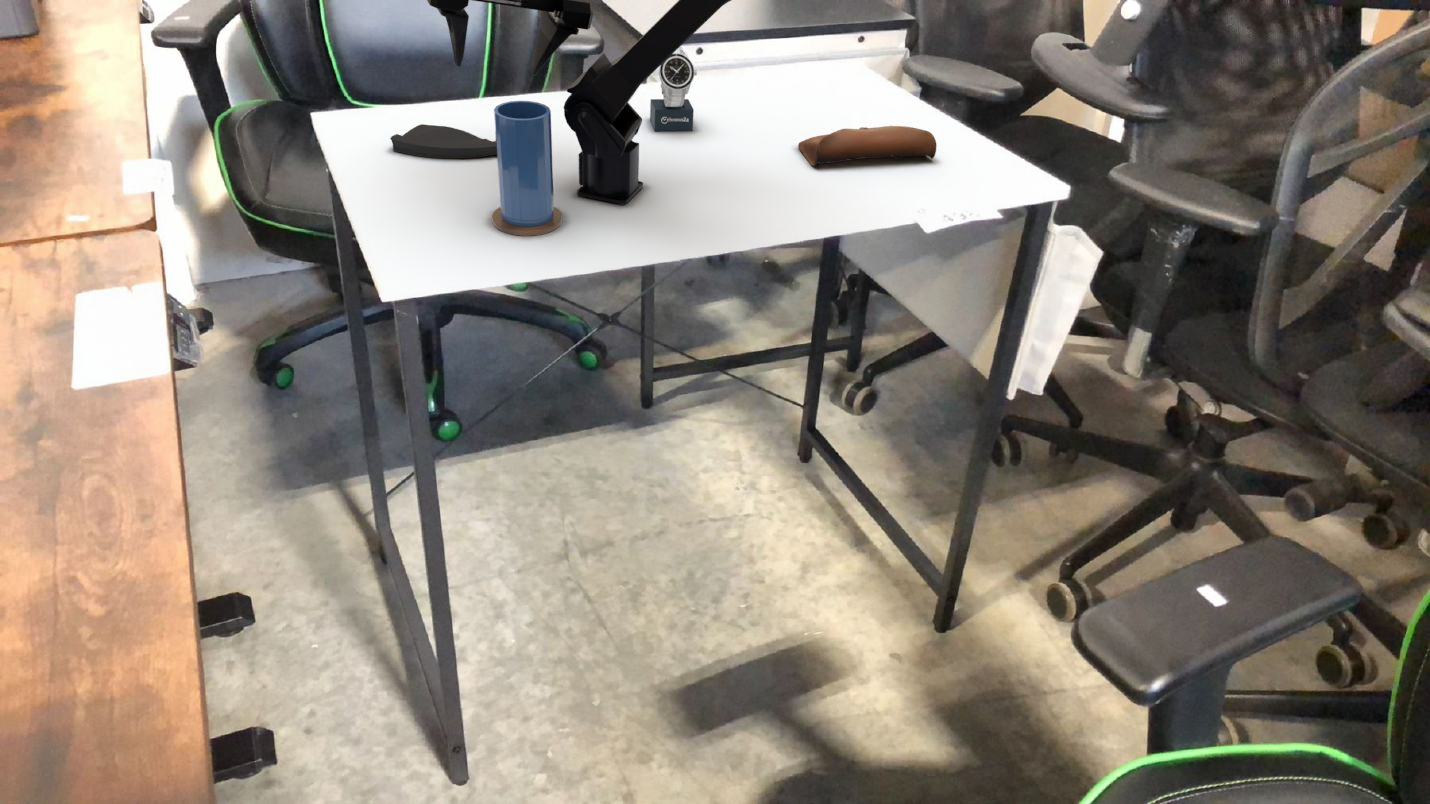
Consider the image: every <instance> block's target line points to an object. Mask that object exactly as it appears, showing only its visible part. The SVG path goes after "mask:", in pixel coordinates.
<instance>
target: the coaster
mask: <svg viewBox="0 0 1430 804" xmlns="http://www.w3.org/2000/svg"><path fill="white" fill-rule="evenodd" d="M491 222H492V225H493V226H494V228H496V229H497V230H499V231H500V232H503V233H505V234H509V235H514V236H521V237H532V236H533V237H534V236H540V235H545V234H549V233H550V232H553V231H555V230H557V229H558V228H559V227H560V226H562V225H561V224H562V223H563V215H562V212H561V210H559V208H557V207H555V206H554V217H553V219H552V220H551V221H550V222H548V223H546V224H544V225H540V226H535V227H520V226H514V225H511V224H508V223H506V222H505V221H504V220H503V219H502V217H501V209H500V206H498V207H497V208H496V209H495V210H494V211H493V212H492V214H491Z"/></svg>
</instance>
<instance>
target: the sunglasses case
mask: <svg viewBox="0 0 1430 804" xmlns="http://www.w3.org/2000/svg"><path fill="white" fill-rule="evenodd" d="M797 146H798V149H799V150H800V152H801V154H802V156H803V157H804V158H805V159H806V161H807V162H808V163H809V164H810V166H811V167H813V166H817V165H818V163H819V164H820V165H821V164H829V163H837V162H845V161H848V160H851V161H853V160H860V159H882V158H889V157H893V158H901V157H919V156H920V157H923V156H927V157H928V158H930V159H934V158H935V156H936V153H937V141H936V137H935V136H934V135H933V133H931V131H928V130H925V129H922V128H917V127H912V126H906V125H905V126H902V125H901V126H900V125H887V126H885V125H884V126H878V127H877V126H876V127H867V126H865V127H864V126H862V127H859V128H840V129H838V130H835V131H833V132H831V133H828V134H822V135H817V136H812V137H809V138H807V139H805V140H802V141H800V142H799V143H798V145H797Z"/></svg>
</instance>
